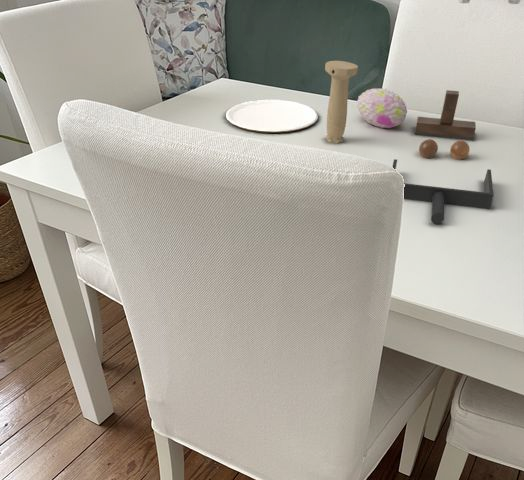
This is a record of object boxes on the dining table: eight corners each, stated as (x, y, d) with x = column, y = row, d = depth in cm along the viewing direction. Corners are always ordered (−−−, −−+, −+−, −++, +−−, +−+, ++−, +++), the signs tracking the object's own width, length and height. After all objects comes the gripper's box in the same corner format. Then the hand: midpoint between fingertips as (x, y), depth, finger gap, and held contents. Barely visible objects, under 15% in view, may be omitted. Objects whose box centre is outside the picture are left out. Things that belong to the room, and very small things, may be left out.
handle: (339, 149, 116) (346, 70, 106) (315, 141, 119) (320, 63, 110) (353, 143, 119) (362, 65, 109) (330, 135, 122) (336, 59, 112)
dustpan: (486, 185, 104) (490, 169, 102) (491, 234, 90) (496, 216, 88) (391, 174, 107) (394, 159, 105) (382, 220, 93) (384, 203, 91)
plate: (208, 125, 126) (208, 120, 125) (252, 99, 140) (252, 94, 139) (294, 142, 119) (294, 136, 118) (331, 113, 133) (331, 107, 132)
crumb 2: (466, 156, 114) (471, 138, 112) (467, 163, 111) (471, 145, 109) (448, 154, 115) (452, 137, 112) (448, 161, 112) (452, 143, 110)
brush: (471, 136, 123) (482, 92, 117) (472, 142, 120) (483, 97, 114) (415, 130, 125) (423, 87, 119) (414, 136, 122) (422, 92, 116)
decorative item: (371, 90, 130) (387, 63, 121) (402, 127, 131) (421, 103, 121) (343, 112, 128) (358, 86, 119) (375, 149, 129) (392, 127, 119)
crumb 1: (436, 155, 114) (439, 137, 112) (435, 162, 112) (439, 144, 109) (417, 153, 115) (421, 135, 113) (416, 160, 112) (420, 142, 110)
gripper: (457, -92, 93) (438, 5, 102) (578, -90, 94) (548, 7, 103) (445, -95, 98) (428, -1, 107) (560, -92, 99) (534, 0, 108)
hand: (488, 3), depth 105 cm, fingers open, 8 cm apart
